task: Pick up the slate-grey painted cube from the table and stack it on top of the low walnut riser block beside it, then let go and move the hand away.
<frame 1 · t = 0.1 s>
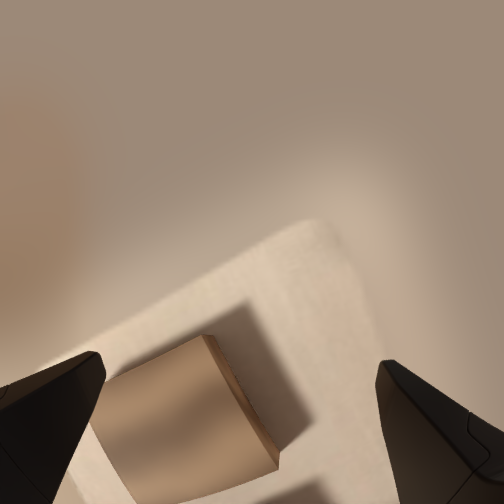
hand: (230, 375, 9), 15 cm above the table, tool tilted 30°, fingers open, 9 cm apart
walnut riser: (183, 423, 22), on the table
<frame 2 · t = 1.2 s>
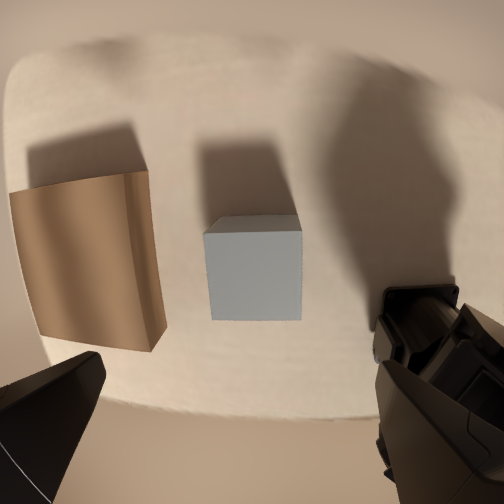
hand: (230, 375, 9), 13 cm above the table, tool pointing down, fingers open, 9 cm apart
slate cube: (260, 251, 21), on the table
walnut riser: (97, 253, 23), on the table
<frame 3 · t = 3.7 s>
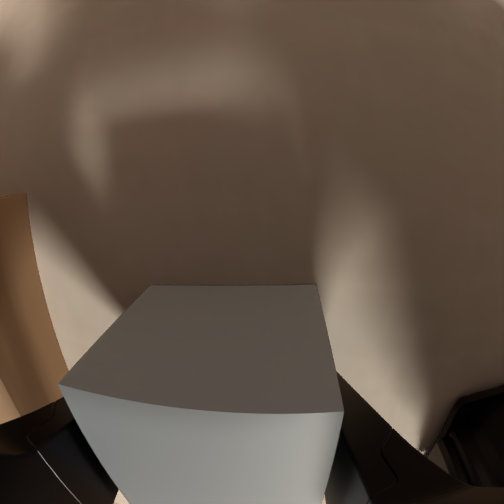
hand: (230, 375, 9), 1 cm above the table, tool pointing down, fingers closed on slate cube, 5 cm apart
slate cube: (235, 355, 10), on the table, touching gripper
when the fingers open (6 cm above the table, at t = 9.4 s): slate cube drops 2 cm, resting on walnut riser.
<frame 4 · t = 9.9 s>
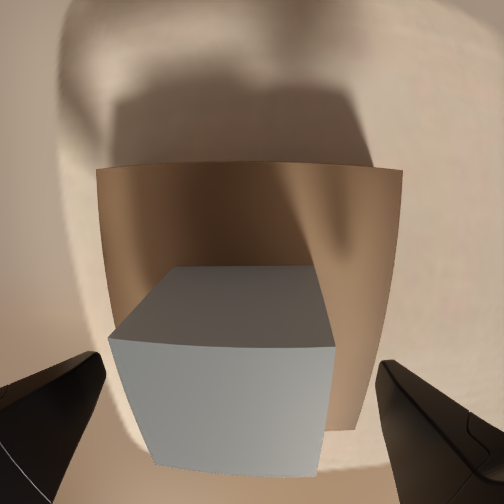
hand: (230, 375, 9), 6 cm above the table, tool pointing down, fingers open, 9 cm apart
slate cube: (245, 328, 12), point 4 cm above the table, touching walnut riser
walnut riser: (251, 285, 15), on the table, touching slate cube
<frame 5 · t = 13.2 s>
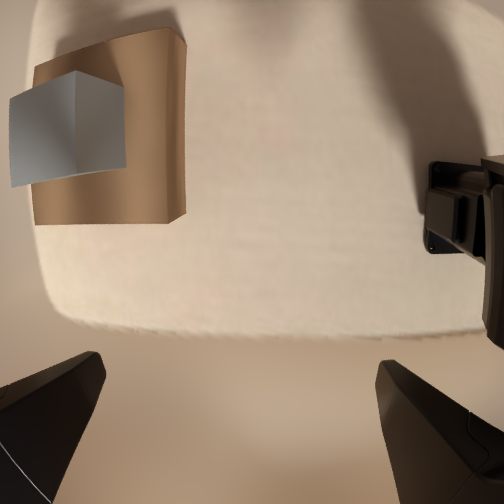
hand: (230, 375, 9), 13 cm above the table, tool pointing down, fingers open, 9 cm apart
slate cube: (90, 133, 16), point 4 cm above the table
walnut riser: (116, 133, 20), on the table
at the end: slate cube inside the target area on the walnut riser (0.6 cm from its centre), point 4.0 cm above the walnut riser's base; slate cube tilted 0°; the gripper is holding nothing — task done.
